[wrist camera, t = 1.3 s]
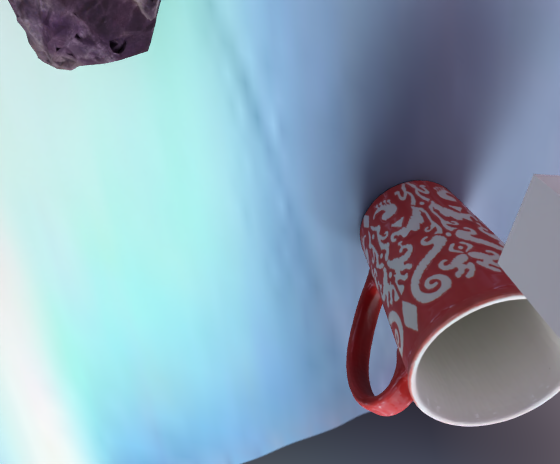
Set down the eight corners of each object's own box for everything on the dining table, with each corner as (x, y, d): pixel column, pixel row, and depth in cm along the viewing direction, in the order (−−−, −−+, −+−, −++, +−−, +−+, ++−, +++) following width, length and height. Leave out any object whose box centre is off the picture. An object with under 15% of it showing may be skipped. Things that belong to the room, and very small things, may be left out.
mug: (426, 138, 33) (539, 260, 22) (495, 221, 37) (620, 360, 26) (282, 258, 37) (314, 415, 25) (360, 321, 41) (417, 481, 30)
